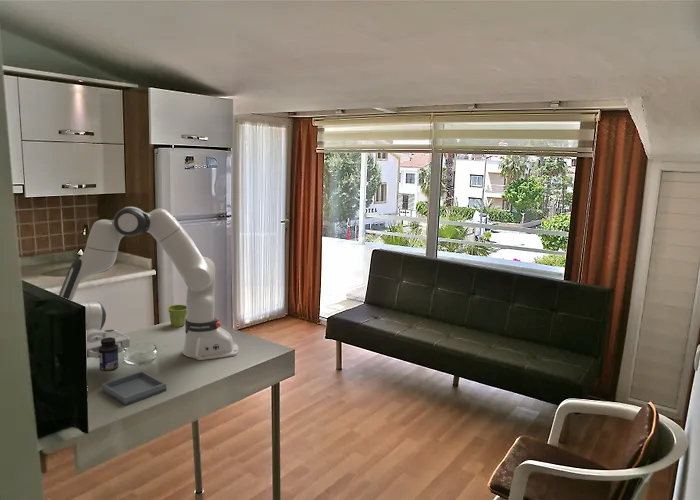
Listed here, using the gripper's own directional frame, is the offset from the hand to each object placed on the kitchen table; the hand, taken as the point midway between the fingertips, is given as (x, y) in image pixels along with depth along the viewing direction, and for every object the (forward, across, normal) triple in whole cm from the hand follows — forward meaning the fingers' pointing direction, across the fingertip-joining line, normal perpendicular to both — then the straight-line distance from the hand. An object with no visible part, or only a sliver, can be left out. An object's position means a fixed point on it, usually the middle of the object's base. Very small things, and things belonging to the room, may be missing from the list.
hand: (109, 353), depth 182 cm
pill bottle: (-1, 0, +6) cm, 6 cm away
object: (-36, +47, +10) cm, 60 cm away
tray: (+14, +2, +10) cm, 17 cm away
